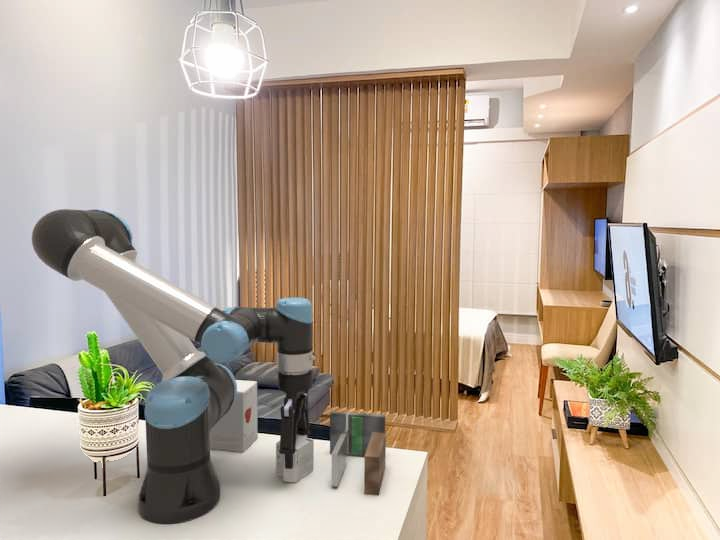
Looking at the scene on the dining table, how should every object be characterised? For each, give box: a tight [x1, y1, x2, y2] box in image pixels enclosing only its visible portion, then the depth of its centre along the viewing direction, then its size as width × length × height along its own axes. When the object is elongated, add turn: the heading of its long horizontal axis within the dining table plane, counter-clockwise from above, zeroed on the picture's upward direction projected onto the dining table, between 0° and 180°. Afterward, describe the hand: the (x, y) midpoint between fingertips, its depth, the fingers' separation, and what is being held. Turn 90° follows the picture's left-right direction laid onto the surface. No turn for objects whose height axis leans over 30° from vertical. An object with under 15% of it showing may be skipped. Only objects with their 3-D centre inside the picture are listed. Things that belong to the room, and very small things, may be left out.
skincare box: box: [275, 434, 315, 482], centre depth 113 cm, size 6×6×7 cm
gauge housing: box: [329, 411, 387, 496], centre depth 114 cm, size 14×18×10 cm
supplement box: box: [210, 379, 258, 453], centre depth 127 cm, size 9×9×15 cm
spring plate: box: [331, 412, 349, 487], centre depth 114 cm, size 1×15×10 cm, turn 171°
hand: (295, 471), depth 113 cm, fingers closed on skincare box, 7 cm apart
